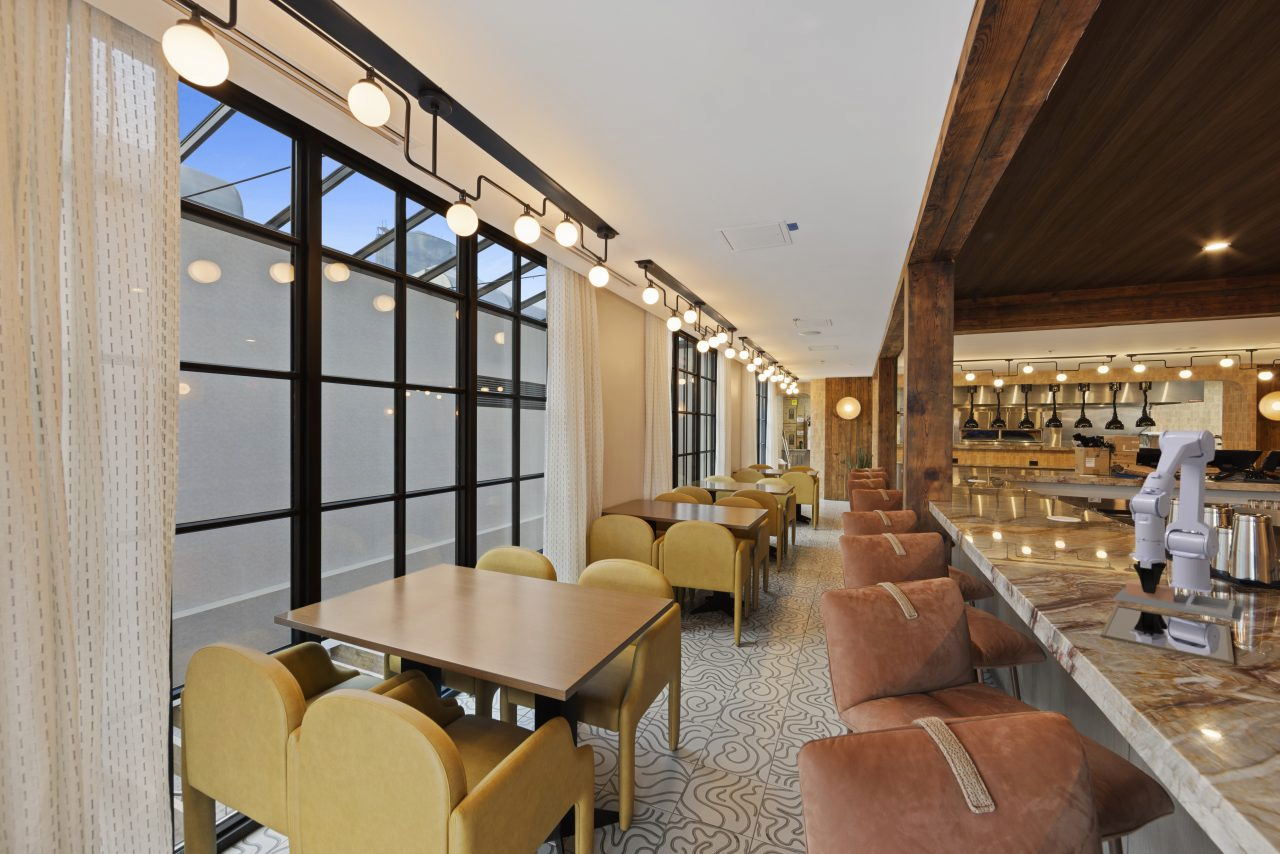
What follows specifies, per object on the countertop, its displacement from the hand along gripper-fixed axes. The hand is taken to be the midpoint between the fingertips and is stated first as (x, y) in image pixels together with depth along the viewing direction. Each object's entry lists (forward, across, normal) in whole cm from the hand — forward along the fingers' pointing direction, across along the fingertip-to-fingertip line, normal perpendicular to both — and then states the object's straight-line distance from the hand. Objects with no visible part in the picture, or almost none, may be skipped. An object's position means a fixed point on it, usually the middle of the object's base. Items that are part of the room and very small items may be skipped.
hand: (1150, 591), depth 141 cm
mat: (+2, +2, +5) cm, 6 cm away
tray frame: (+2, +2, +11) cm, 11 cm away
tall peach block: (+1, 0, 0) cm, 1 cm away
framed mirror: (+2, +30, +6) cm, 31 cm away
